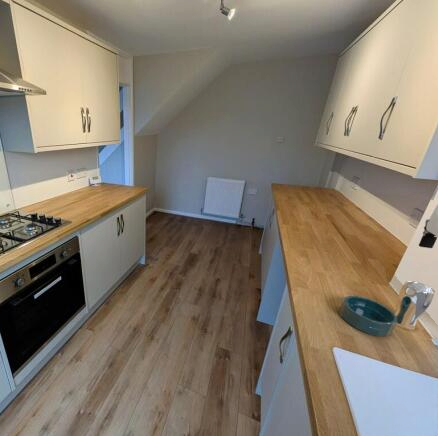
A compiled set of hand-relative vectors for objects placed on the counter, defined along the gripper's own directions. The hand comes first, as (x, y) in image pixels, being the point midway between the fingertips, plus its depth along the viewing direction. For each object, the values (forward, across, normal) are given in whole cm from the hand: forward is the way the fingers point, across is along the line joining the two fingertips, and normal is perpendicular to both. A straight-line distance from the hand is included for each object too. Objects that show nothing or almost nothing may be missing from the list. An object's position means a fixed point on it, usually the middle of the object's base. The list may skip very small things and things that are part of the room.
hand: (434, 253), depth 74 cm
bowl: (+26, -6, +13) cm, 30 cm away
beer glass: (+27, -2, +1) cm, 27 cm away
